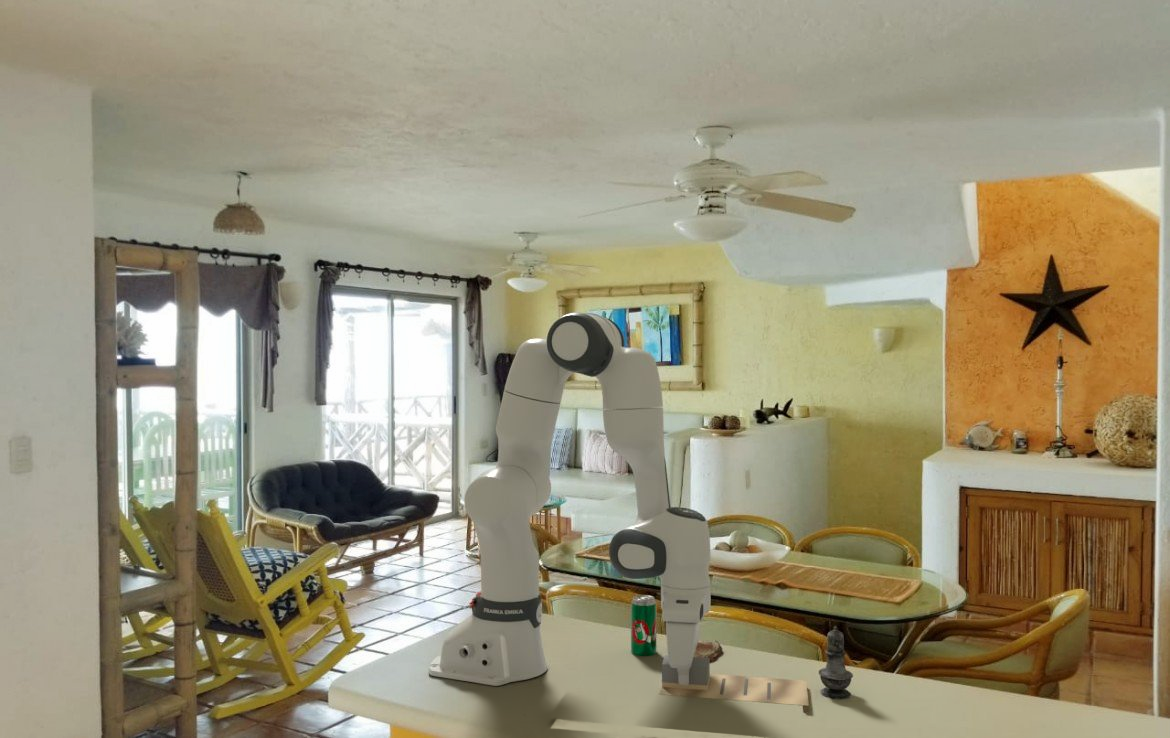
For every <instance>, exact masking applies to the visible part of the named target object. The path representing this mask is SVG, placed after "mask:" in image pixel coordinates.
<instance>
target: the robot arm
mask: <svg viewBox="0 0 1170 738" xmlns="http://www.w3.org/2000/svg"><path fill="white" fill-rule="evenodd" d="M658 369H659V368H658V366H657V361H656V359H655V357H654V355H653V354H652V353H650V352H649V351H648V350H647V351H646V350H645V349H642V348H638V347H626V346H625V337H624V334H623V332H622V330H621V328H620V327H619V326H618V325H617V323H615V321H613V320H612V319H609V317H608V318H607V317H605V316H602V315H599V314H597V313H592V312H584V313H583V312H571V313H570V312H569V313H567V314H564V315H562V316H560V317H559V318H558V319H556V320H555V321H554V322H553V324H552V325H551V326H550V328H549V330H548V333H547V336H546V339H545V338H541V337H540V338H531V339H528V340H525V341H523V343H521V344H520V345H519V347H518V349H517V352H516V354H515V355H514V358H513V360H512V363H511V366H510V368H509V372H508V375H507V378H506V381H505V385H504V390H503V395H502V399H501V404H500V406H499V407H500V408H499V412H498V415H497V419H496V420H497V421H496V425H495V435H496V436H497V441H498V442H497V445H498V452H497V453H498V454H497V464H496V467H495V468H492V469H489V470H486V471H483V472H482V473H481V474H479V475H478V476H477V477H476V478H475V479H473V481H472V482H471V483H470V484H469V485H468V487H467V488H466V491H465V494H464V509H465V512H466V514H467V515H468V517H469V519H470V520H471V521H472V522H473V525H474V529H475V533H476V537H477V541H478V546H479V553H480V573H481V574H480V578H481V579H480V582H481V583H480V588H481V590H480V591H478V592H477V593H476V594H475V597H473V598H472V599H471V601H470V602H468V603H469V607H468V609H470V610H471V612H472V613H471V614H470V615H469V616H467V617H466V618H465V619H464V620H463V621H461V622H460V623H459V624H457V625H456V626H455V627H454V628H453V629H452V630H450V631H449V632H448V634H446V636H445V637H444V639H443V643H442V647H441V653H440V654H439V655H438V656H436V657H435V658H434V659H432V661H431V662H430V663H429V665H428V666H429V667H428V674H429V675H430V676H433V677H439V678H443V679H450V680H457V681H461V682H462V681H465V682H469V683H470V682H471V683H477V684H482V685H488V686H492V687H493V686H495V687H497V686H502V685H503V686H504V685H505V684H509V683H512V682H520V681H524V680H525V681H526V680H529V679H533V678H535V677H538V676H541V675H543V674H544V673H545V672H546V671H547V670H548V669H549V668H548V662H547V660H546V656H545V652H544V648H543V646H544V645H543V639H542V631H541V624H542V618H543V604H542V594H541V593H540V564H539V563H540V555H539V551H538V550H537V548H536V546H535V544H534V540H533V536H532V531H531V524H530V522H531V521H530V520H531V519H530V518H531V517H532V516H534V515H537V513H539V512H540V511H541V510H542V509H543V508H544V506H545V505H546V504H547V502H548V500H549V499H550V496H551V494H552V493H551V492H552V483H551V479H550V475H551V461H552V460H551V458H552V457H551V456H552V445H553V438H554V433H555V429H556V425H557V420H558V416H559V413H560V412H559V411H560V407H561V402H562V398H563V393H564V388H565V385H566V383H567V381H568V379H569V377H570V376H571V375H572V374H575V373H576V374H581V375H583V376H588V377H591V378H596V379H597V380H598V382H599V384H600V387H601V395H602V409H603V410H602V418H603V427H604V433H605V437H606V442H607V444H608V446H609V447H610V448H611V449H612V450H613V451H614V452H615V453H616V454H617V455H619V456H620V457H622V458H623V459H624V460H625V461H626V462H627V464H628V465H629V467H630V468H631V470H632V473H633V476H634V477H633V478H634V488H635V496H636V505H637V506H636V507H637V517H636V520H635V522H634V523H632V524H630V525H627V526H626V527H624V528H622V529H620V530H619V531H618V532H616V534H615V535H614V536H613V537H612V539H611V541H610V544H609V548H608V556H609V560H610V563H611V565H612V567H613V569H614V570H615V571H616V572H617V573H618V574H619V575H620V576H622V577H624V578H626V579H630V580H642V579H650V578H655V577H657V578H659V579H660V608H661V610H662V612H661V614H662V615H661V617H662V618H661V619H662V621H663V622H665V635H666V646H667V647H666V648H667V655H668V659H669V664H670V666H671V667H672V668H677V670H678V682H679V684H680V685H688V684H689V668H691V664H692V661H693V657H694V654H695V650H696V647H697V644H698V642H699V640H700V637H701V622H702V621H704V618H705V617H704V616H705V615H706V614H708V613H710V612H711V607H712V606H711V604H712V603H711V598H712V597H711V593H712V592H711V578H710V574H709V566H710V563H711V538H710V529H709V523H708V520H707V518H706V517H705V516H704V515H703V514H702V513H700V512H699V511H697V510H694V509H692V508H687V507H679V506H677V507H676V506H673V507H671V499H670V491H669V490H670V489H669V481H668V479H669V478H668V470H667V469H668V468H667V461H666V455H665V454H666V453H665V439H664V437H665V436H664V431H665V430H664V408H663V407H664V405H663V401H664V400H663V392H662V385H661V379H660V374H659V370H658Z"/></svg>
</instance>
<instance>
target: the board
mask: <svg viewBox="0 0 1170 738" xmlns="http://www.w3.org/2000/svg"><path fill="white" fill-rule="evenodd" d="M807 684H808V683H807V680H801V679H800V680H799V679H789V678H788V679H786V678H774V677H773V678H771V677H760V676H759V677H758V676H746V675H743V676H742V675H732V674H731V675H730V674H717V673H710V681H709V686H708V690H697V689H683V688H670V687H662V686H661V688H660V691H659V695H663V696H664V695H665V696H678V697H689V698H690V697H691V698H701V699H713V700H728V701H729V700H730V701H741V702H742V701H743V702H753V703H754V702H756V703H766V704H778V705H779V704H781V705H792V706H802V712H803V713H804V714H805V713H808V714H809V711H810V708H809V706H810V704H809V695H808V685H807Z"/></svg>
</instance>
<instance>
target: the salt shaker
mask: <svg viewBox="0 0 1170 738" xmlns="http://www.w3.org/2000/svg"><path fill="white" fill-rule="evenodd" d="M826 637H827V638H826V640H827V641H826V642H827V649H825V650H824V652H825V653H826V664H825V667H824V668H822V669H819V670H818V675H819V676H820V680H821V683H822V685H823V686H825V687H823V688H822V689H821V690H819V691H820V695H822V696H823V697H825V698H828V699H833V700H846V699H850V698H851V697H852V693H851V692H850V691H849V690H848V689H847V688H848V687H849V686H851V682H852V679H853V677H854V673H853V672H851V671H850V670H848V669H847V668H846V664H845V655H847V652H846V651H845V639H844V638H845V637H844V634H843V632H841V631H839V629H838V627H837V626H836V625H834V627H833V629H832V630H829V632H828V633H827V636H826Z"/></svg>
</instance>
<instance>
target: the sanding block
mask: <svg viewBox="0 0 1170 738" xmlns="http://www.w3.org/2000/svg"><path fill="white" fill-rule="evenodd" d="M710 664H711V662H710V658H699V657H693V661H692V664H691V668H689V684H688V685H680V684H679V682H678V670H677V668H672V667H671V666H670V664H669V659H668V654H666V655H664V658H663V660H662V663H661V688H662V687H670V688H683V689H697V690H708V686H709V681H710V674H711V673H710V672H711V671H710V669H711V668H710V667H711V666H710Z"/></svg>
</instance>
